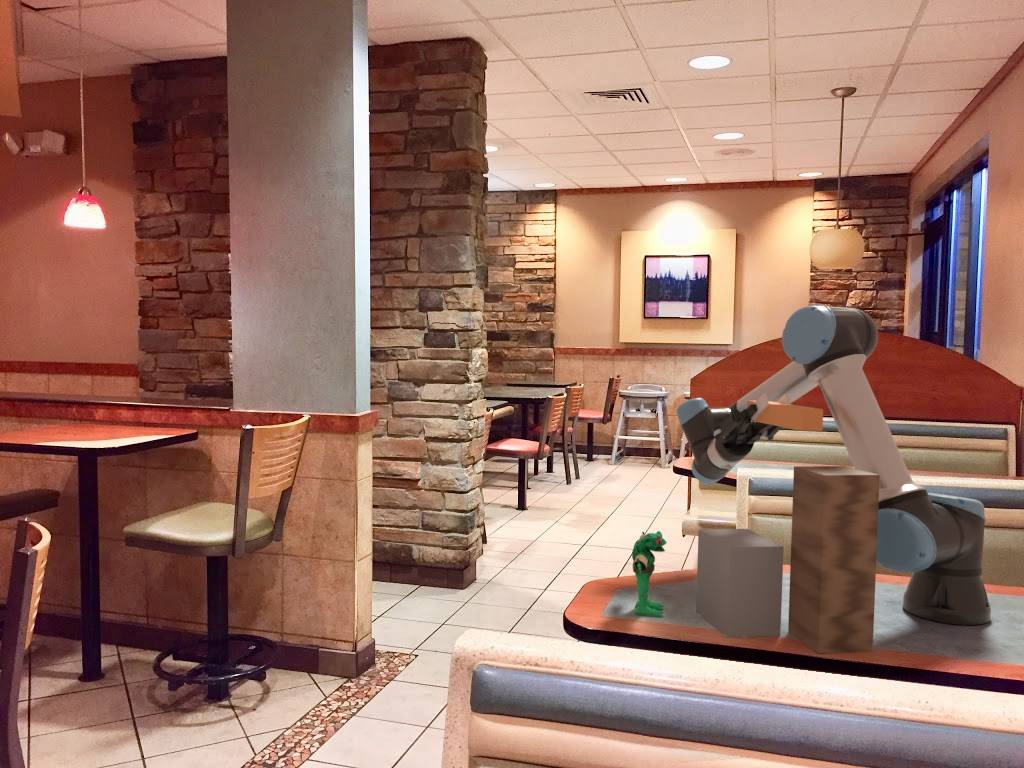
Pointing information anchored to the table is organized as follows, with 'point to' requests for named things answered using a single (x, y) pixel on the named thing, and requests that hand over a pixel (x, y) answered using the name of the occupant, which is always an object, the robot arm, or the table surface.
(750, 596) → the grey upright cuboid
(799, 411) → the orange rectangular bar
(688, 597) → the table surface
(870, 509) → the post
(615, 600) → the table surface
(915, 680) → the table surface
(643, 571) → the toy
